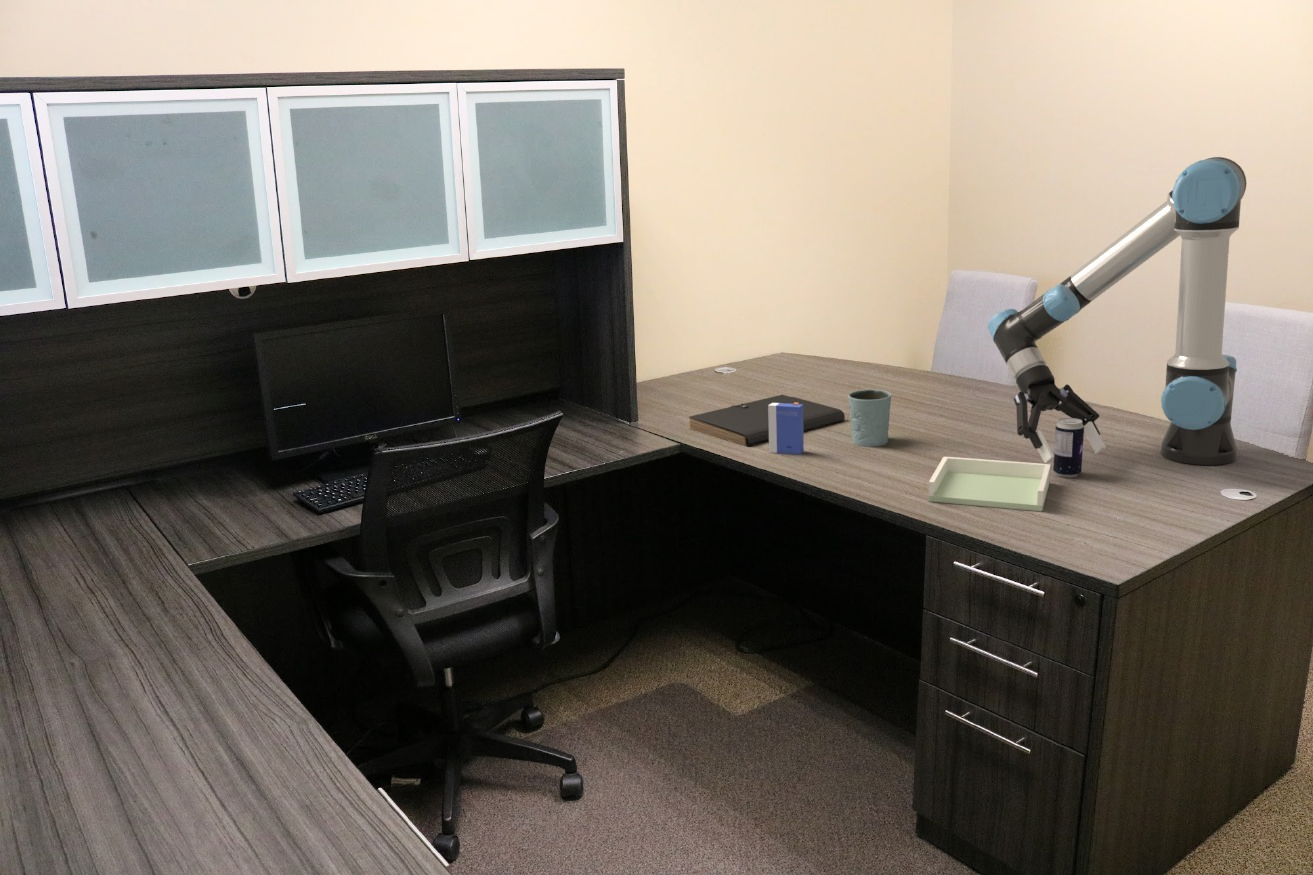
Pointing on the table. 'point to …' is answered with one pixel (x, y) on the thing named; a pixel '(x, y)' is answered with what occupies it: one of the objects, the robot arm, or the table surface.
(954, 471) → the box
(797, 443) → the walkman
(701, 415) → the leather journal
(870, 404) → the embossed teal cup
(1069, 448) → the beverage can
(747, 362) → the table surface
